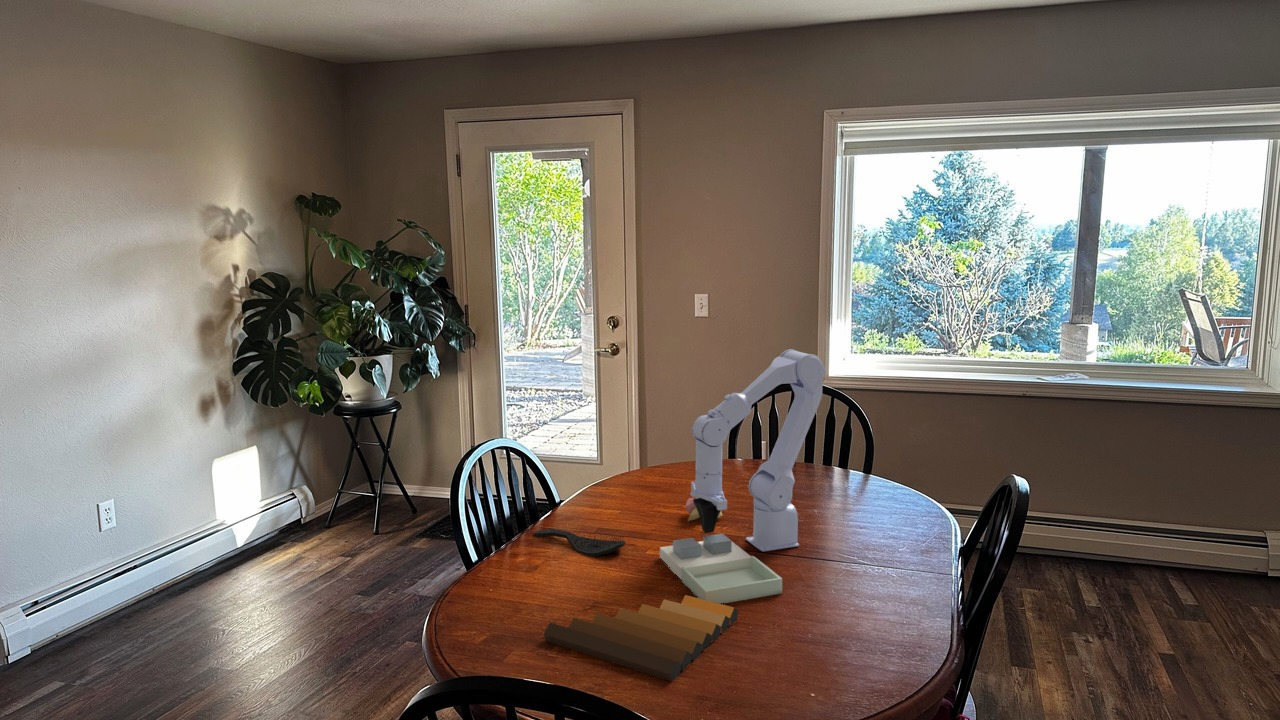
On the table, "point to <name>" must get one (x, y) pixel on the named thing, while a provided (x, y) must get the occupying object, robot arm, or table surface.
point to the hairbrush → (584, 542)
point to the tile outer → (687, 548)
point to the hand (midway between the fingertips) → (708, 531)
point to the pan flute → (649, 635)
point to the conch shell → (694, 509)
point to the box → (734, 583)
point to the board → (707, 561)
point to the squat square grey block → (717, 544)
